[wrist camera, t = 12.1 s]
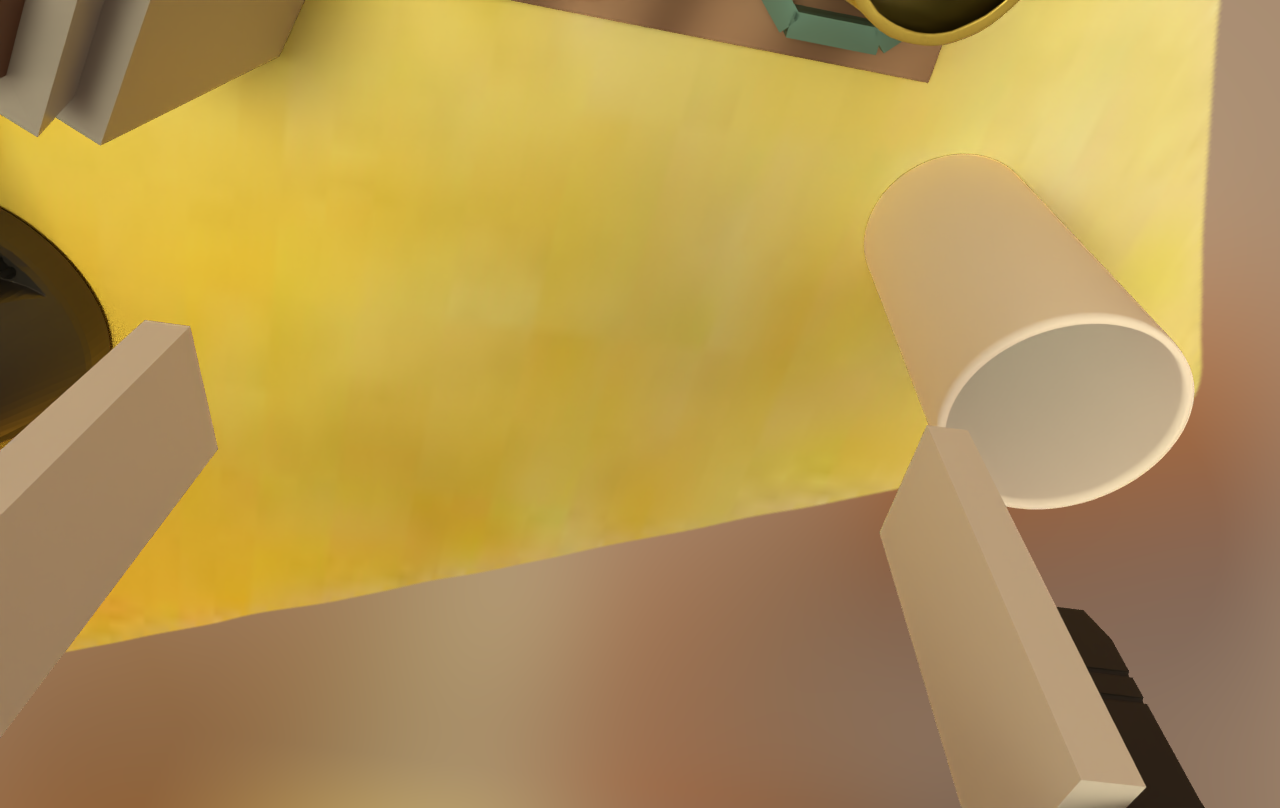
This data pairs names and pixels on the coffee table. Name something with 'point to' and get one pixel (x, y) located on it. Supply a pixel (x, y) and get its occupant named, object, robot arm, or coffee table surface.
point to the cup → (1022, 335)
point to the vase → (932, 18)
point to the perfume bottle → (128, 57)
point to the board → (773, 29)
